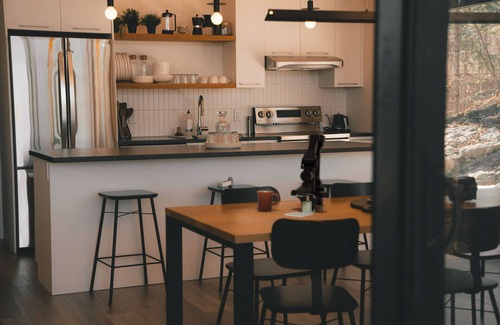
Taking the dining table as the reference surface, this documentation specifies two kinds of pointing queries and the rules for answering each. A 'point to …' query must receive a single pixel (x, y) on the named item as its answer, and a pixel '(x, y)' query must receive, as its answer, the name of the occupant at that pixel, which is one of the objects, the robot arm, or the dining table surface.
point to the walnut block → (318, 208)
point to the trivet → (298, 214)
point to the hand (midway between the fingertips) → (308, 210)
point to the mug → (266, 200)
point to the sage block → (307, 207)
